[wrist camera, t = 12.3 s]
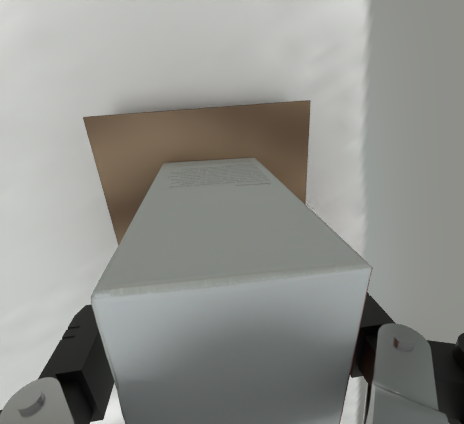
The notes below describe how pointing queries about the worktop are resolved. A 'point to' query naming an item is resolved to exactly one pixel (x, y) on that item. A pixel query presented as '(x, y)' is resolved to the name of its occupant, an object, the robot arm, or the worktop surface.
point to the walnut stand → (195, 147)
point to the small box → (229, 302)
